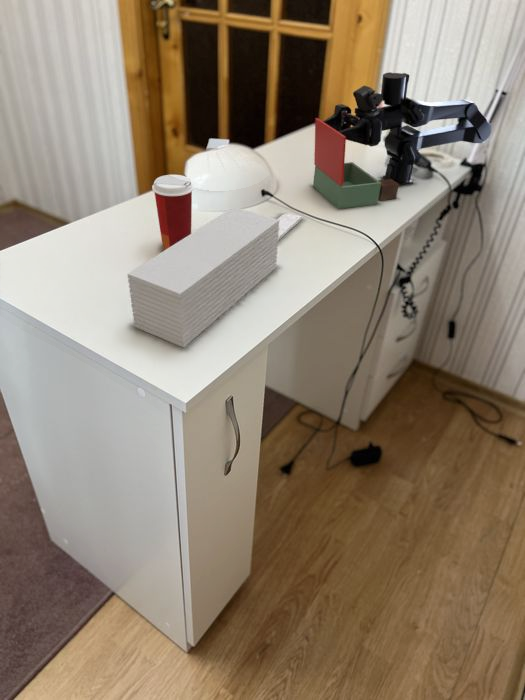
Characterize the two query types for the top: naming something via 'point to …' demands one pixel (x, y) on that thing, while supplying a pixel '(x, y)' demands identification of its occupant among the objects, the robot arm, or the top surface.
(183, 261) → the stack of papers
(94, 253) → the top surface
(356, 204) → the box
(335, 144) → the lid
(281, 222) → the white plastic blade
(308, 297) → the top surface
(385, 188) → the walnut block
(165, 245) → the coffee cup
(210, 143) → the small box
